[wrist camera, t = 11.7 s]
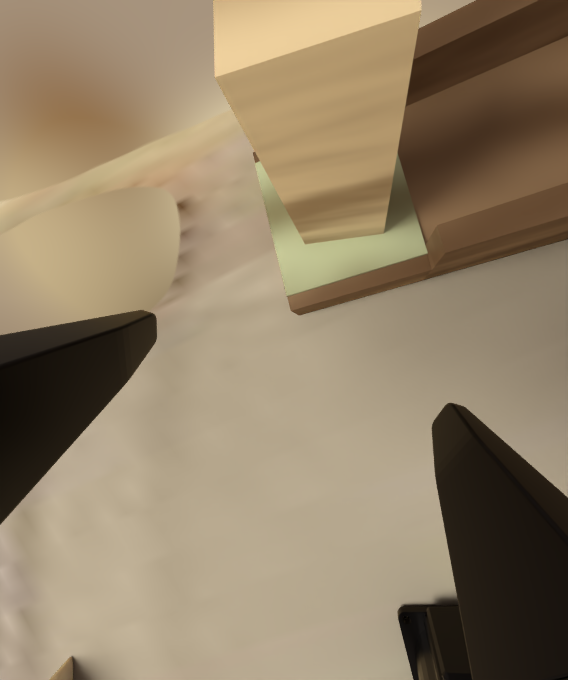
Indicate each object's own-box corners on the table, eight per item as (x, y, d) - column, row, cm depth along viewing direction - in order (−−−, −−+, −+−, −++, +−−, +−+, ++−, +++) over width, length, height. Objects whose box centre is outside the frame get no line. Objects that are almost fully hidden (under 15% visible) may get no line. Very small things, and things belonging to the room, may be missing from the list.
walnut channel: (853, 157, 14) (1141, 43, 9) (298, 315, 22) (277, 303, 16) (757, -39, 16) (959, -241, 10) (264, 173, 23) (234, 120, 18)
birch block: (383, 233, 18) (421, 10, 6) (305, 244, 19) (214, 77, 7) (379, 156, 18) (409, -197, 6) (302, 172, 19) (211, -96, 8)
